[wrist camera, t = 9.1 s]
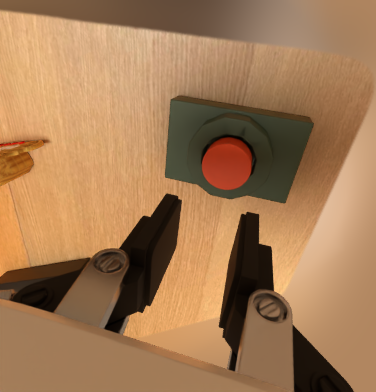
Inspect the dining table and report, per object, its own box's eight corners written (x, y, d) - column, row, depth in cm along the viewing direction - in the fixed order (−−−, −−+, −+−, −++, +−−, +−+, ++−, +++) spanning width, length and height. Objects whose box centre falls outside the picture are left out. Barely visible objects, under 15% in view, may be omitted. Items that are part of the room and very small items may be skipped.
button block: (309, 117, 21) (319, 129, 17) (283, 192, 24) (286, 214, 21) (178, 95, 22) (163, 102, 19) (171, 168, 26) (157, 186, 22)
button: (257, 141, 19) (256, 149, 18) (246, 184, 21) (245, 194, 19) (209, 132, 20) (205, 139, 18) (202, 175, 21) (198, 184, 20)
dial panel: (107, 254, 34) (93, 271, 32) (140, 307, 38) (130, 326, 35) (6, 271, 42) (-12, 285, 39) (41, 314, 46) (27, 330, 43)
